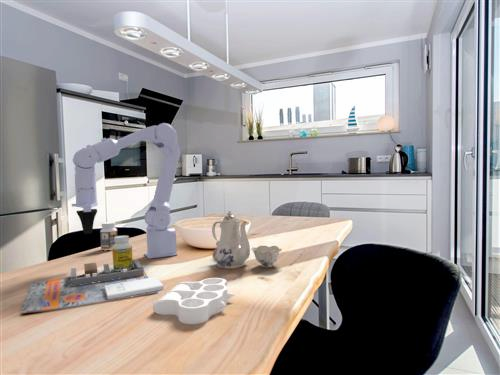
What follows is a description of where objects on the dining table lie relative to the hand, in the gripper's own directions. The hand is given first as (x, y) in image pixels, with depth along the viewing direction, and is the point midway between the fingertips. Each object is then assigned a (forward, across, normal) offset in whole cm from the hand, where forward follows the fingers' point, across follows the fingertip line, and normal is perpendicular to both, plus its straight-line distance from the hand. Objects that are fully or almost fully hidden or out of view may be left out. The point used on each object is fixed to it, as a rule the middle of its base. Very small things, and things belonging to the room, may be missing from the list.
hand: (87, 233), depth 104 cm
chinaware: (+10, +21, +41) cm, 47 cm away
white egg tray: (+10, +46, +19) cm, 51 cm away
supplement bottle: (+10, +10, +9) cm, 17 cm away
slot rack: (+10, +14, +4) cm, 17 cm away
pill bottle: (+10, -21, +7) cm, 24 cm away
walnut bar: (+10, +13, 0) cm, 16 cm away
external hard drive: (+11, +29, +9) cm, 32 cm away
